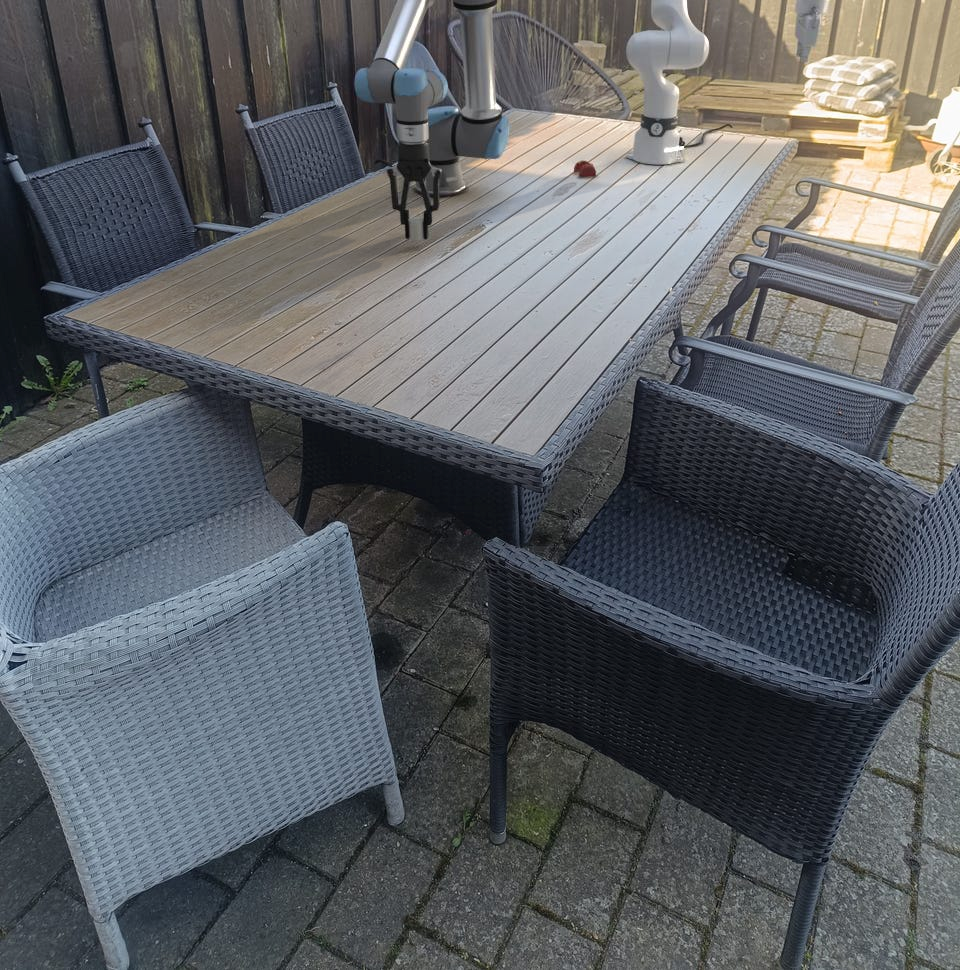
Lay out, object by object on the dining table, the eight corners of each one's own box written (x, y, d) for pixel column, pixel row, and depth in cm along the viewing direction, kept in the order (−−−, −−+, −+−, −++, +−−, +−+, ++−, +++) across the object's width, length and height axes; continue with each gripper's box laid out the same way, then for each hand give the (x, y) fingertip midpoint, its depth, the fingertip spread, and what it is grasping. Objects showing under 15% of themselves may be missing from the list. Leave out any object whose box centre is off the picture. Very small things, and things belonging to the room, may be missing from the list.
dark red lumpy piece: (589, 157, 273) (597, 163, 266) (588, 170, 275) (597, 177, 269) (572, 158, 272) (581, 165, 265) (572, 172, 274) (580, 179, 268)
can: (407, 240, 214) (406, 221, 211) (411, 234, 217) (411, 216, 215) (422, 241, 213) (421, 222, 210) (427, 236, 216) (426, 217, 214)
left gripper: (374, 144, 199) (381, 241, 213) (447, 145, 198) (448, 243, 211) (380, 136, 205) (386, 231, 219) (450, 138, 204) (452, 233, 218)
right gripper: (829, 10, 231) (817, 65, 239) (818, 1, 247) (807, 54, 255) (805, 9, 232) (794, 65, 240) (796, 1, 248) (786, 53, 256)
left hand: (417, 237), depth 215 cm, fingers closed on can, 4 cm apart
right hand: (801, 59), depth 248 cm, fingers open, 8 cm apart
